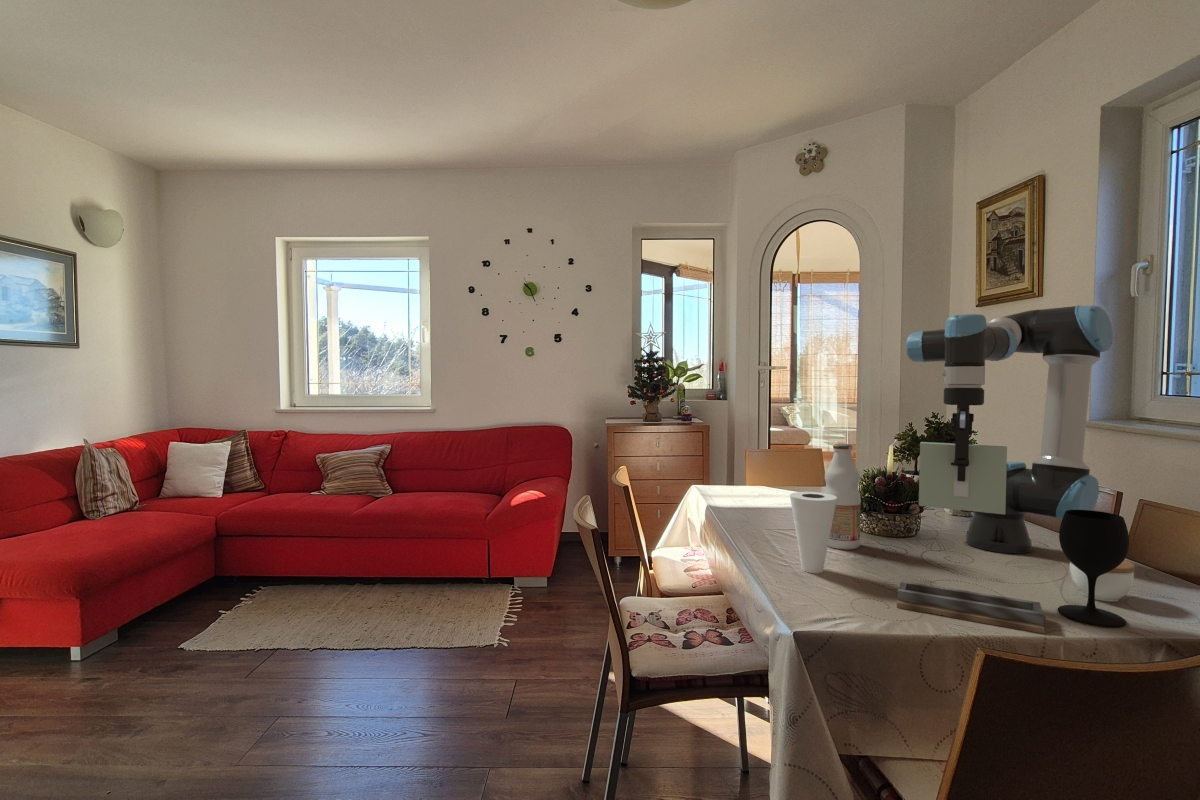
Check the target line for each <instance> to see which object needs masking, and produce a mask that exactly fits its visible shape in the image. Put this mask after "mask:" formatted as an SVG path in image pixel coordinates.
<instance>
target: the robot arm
mask: <svg viewBox="0 0 1200 800" xmlns="http://www.w3.org/2000/svg"><path fill="white" fill-rule="evenodd" d="M1113 338H1114V336H1113V327H1112V323H1111V320H1110V317H1109V315H1108V314H1107V312H1106V311H1105V310H1104V309H1103V308H1102V307H1101V306H1098V305H1079V304H1077V305H1075V306H1073V305H1072V306H1063V307H1054V308H1045V309H1044V308H1043V309H1032V310H1031V309H1030V310H1025V311H1021V312H1017V313H1013V314H1009V315H1005V316H999V317H996V318H993V319H992V320H989V322H987V319H986V316H985V315H984V314H979V313H978V314H977V313H975V314H974V313H973V314H972V313H969V314H968V313H967V314H966V313H965V314H956V315H951V316H948V318H946V320H945V328H943V329H935V330H922V331H914V332H912V333H910V334H909V335H908V336H907V339H906V341H905V353H906V355H907V358H908V359H909V360H911V361H912V362H916V363H917V362H918V363H921V362H922V363H928V362H929V363H930V362H944V371H941V373H940V375H941V376H944V379H943V380H944V381H943V382H944V385H945V386H947V387H944V389H943V404H944V405H949V406H950V405H951V406H956V413H955V412H953V413H952V414H951V415H952V417H951V419H952V422H953V429H952V431H953V433H954V435H955V438H954V439H955V443H954V444H955V460H954V463H952V462H951V465H953V466H954V496H963V497H968V489H969V466H968V465H969V460H968V456H969V444H970V435H972V433H973V423H974V422H975V421H974V417H975V414H974V413H971V412H970V406H983V405H984V403H985V389H984V388H983V387H982V386H984V385H986V363H985V362H986V361H991V362H999V361H1004V360H1007V359H1009V358H1010V357H1011V356H1013V355H1014V354H1015V353H1022V354H1024V353H1025V354H1042V356H1041V357H1042V360H1044V362H1046V364H1048V372H1047V379H1046V380H1047V381H1046V390H1045V391H1046V393H1045V404H1044V413H1043V423H1042V424H1043V425H1042V435H1041V445H1040V455H1039V457H1038V458H1036V459H1035V460H1033V461H1032V465H1031V468H1027V464H1026V463H1025V462H1024V461H1007V470H1006V507H1005V514H995V513H985V512H976V511H973V516H972V518H971V521H970V524H969V526H968V530H967V531H966V533H965V543H966V544H967V545H969V546H970V547H973V548H975V549H976V548H977V549H980V550H984V551H988V552H989V551H990V552H994V553H1003V554H1025V553H1026V552H1027V553H1030V552H1032V550H1033V549H1032V548H1033V546H1032V545H1033V544H1032V543H1033V542H1032V540H1031V538H1030V535H1029V531H1028V529H1027V528H1028V527H1027V524H1026V521H1025V513H1026V514H1030V515H1031V514H1032V515H1036V516H1042V517H1047V518H1048V517H1049V518H1053V519H1058V520H1061V521H1062V519H1063V516H1064V514H1065V511H1067V510H1092V511H1094V509H1095V507H1096V504H1097V502H1098V497H1099V493H1100V487H1099V480H1098V479H1097V478H1096V477H1095V476H1093V475H1092V474H1090V469H1091V467H1089V466H1088V465H1087V464H1086V463H1085V462H1084V450H1085V440H1086V439H1085V438H1086V430H1087V429H1086V427H1087V419H1088V417H1087V416H1088V406H1089V405H1088V404H1089V397H1090V386H1091V384H1090V383H1091V374H1092V373H1091V372H1092V366H1093V365H1094V364H1096V363H1098V362H1099V361H1100V360H1101V353H1105V352H1107V351H1110V349H1111V346H1112V344H1113V341H1114V340H1113Z"/></svg>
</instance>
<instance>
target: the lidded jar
mask: <svg viewBox="0 0 1200 800" xmlns="http://www.w3.org/2000/svg"><path fill="white" fill-rule="evenodd" d="M1068 561H1069V575H1070V578H1071V581H1072V583H1073V584H1074V586H1075V587H1076V588H1077V589H1078V591H1080V592H1081V594H1082V595H1083V596H1084V597H1086V598H1088V579H1087V576H1086V574H1085V573H1084V572H1082V571H1081V570H1080V569H1078V568H1077V567H1076V566H1075V565H1074V564H1072V563H1071V562H1070V560H1069V559H1068ZM1135 571H1136V565H1135V564H1134V563H1133V562H1131V561H1129V560H1126V559H1124V561H1123V562H1122V563H1121V564H1120V565H1119V566H1118V567H1116V568H1115V569H1113V570H1111V571H1110V572H1107V573H1105V574H1103V575H1100V576H1099V577H1098V578H1097V580H1096V585H1095V601H1101V602H1109V603H1112V602H1113V603H1114V602H1119V601H1120V599H1122V598H1124V597H1125V596H1127V595H1128V594H1129V593H1130V592H1131V590H1132V588H1133V585H1134V580H1135Z"/></svg>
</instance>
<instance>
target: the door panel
mask: <svg viewBox="0 0 1200 800" xmlns="http://www.w3.org/2000/svg"><path fill="white" fill-rule="evenodd" d="M954 460H955V443H950V442H931V441H930V442H929V441H928V442H927V441H921V442H920V443H919V471H918V472H919V473H918V475H919V476H918V478H919V479H918V480H919V481H918V488H919V489H918V506H920V507H928V508H937V509H947V510H948V509H949V510H958V511H968V512H974V511H976V512H985V513H995V514H1005V507H1006V470H1007V462H1008V447H1007V446H1005V445H989V444H988V445H987V444H970V443H969V456H968V460H969V465H968V466H969V489H968V497H963V496H954V466H953V465H951V462H952V463H954Z"/></svg>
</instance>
